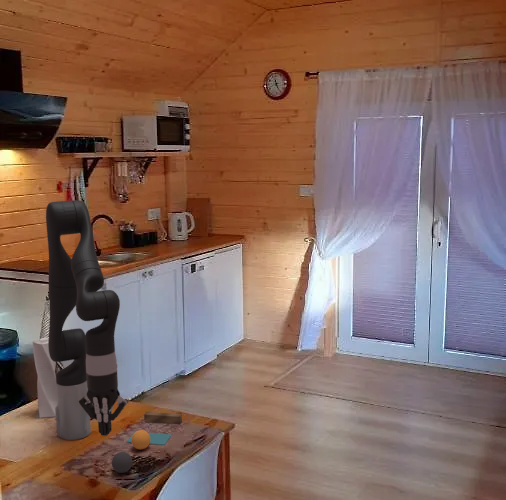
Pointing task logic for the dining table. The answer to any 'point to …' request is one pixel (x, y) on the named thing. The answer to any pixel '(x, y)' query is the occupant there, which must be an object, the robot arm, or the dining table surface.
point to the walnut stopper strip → (162, 417)
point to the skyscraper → (45, 379)
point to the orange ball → (140, 439)
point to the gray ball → (121, 462)
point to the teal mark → (156, 438)
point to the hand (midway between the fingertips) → (105, 434)
